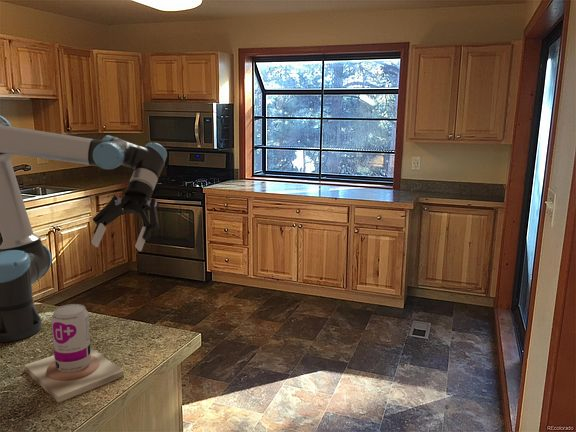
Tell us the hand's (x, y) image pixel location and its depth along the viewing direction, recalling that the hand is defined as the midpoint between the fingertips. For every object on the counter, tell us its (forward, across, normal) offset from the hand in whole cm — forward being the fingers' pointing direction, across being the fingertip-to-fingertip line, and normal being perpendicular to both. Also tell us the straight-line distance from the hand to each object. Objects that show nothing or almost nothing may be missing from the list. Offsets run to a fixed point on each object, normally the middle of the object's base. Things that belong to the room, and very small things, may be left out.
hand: (115, 246), depth 135 cm
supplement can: (+33, 0, -4) cm, 33 cm away
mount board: (+34, 0, -5) cm, 34 cm away
